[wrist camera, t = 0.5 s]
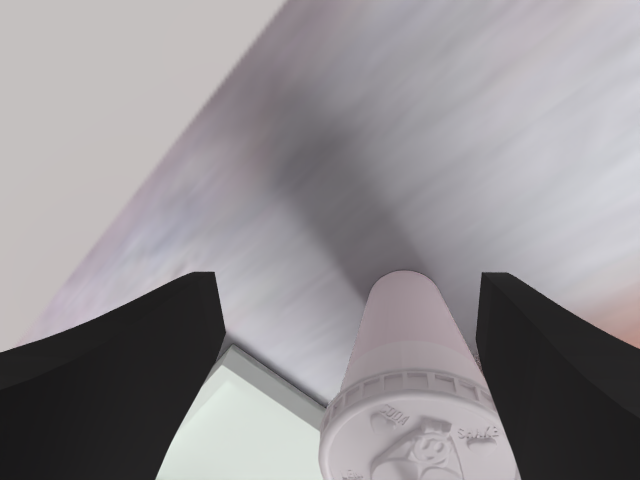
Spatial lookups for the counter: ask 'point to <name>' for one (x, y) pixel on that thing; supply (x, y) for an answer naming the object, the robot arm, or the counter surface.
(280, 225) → the counter surface
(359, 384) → the smoothie
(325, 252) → the counter surface
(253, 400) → the tray
